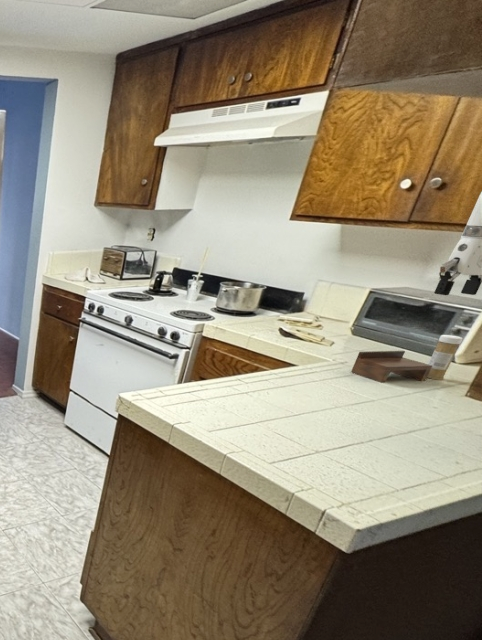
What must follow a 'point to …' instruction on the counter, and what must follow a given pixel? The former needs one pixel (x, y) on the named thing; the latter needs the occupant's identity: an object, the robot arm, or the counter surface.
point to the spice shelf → (388, 366)
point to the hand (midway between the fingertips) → (454, 294)
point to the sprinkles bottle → (443, 356)
